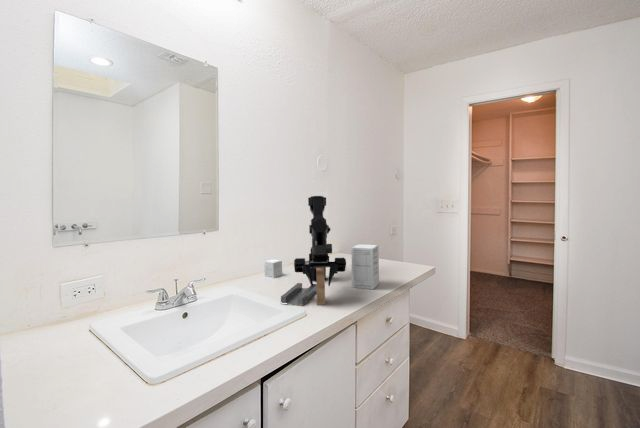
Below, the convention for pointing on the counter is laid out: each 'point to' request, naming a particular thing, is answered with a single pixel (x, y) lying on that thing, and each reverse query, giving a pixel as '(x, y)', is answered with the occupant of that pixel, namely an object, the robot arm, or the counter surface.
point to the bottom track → (298, 294)
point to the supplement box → (365, 266)
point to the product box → (273, 268)
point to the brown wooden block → (320, 286)
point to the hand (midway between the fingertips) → (320, 285)
